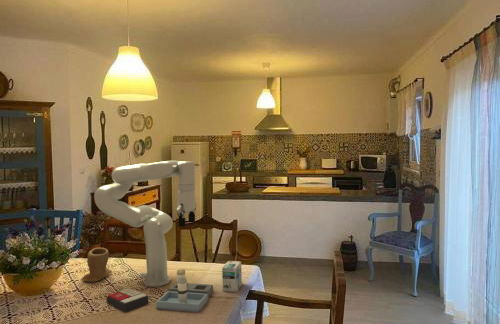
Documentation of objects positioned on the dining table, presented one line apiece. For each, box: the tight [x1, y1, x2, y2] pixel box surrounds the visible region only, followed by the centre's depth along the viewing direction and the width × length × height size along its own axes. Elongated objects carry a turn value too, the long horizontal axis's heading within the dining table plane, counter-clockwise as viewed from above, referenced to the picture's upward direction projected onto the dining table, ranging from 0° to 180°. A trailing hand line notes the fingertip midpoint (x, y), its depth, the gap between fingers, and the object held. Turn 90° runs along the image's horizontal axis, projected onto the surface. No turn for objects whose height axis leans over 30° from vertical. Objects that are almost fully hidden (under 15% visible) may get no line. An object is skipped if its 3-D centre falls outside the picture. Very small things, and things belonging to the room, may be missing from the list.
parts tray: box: [155, 290, 209, 313], centre depth 161 cm, size 18×11×3 cm, turn 77°
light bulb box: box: [221, 260, 243, 293], centre depth 179 cm, size 11×7×11 cm, turn 168°
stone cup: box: [81, 247, 113, 282], centre depth 195 cm, size 15×12×15 cm
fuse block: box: [167, 281, 214, 298], centre depth 173 cm, size 18×8×3 cm, turn 77°
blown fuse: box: [176, 277, 188, 303], centre depth 161 cm, size 4×4×10 cm
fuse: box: [176, 268, 186, 288], centre depth 174 cm, size 4×4×10 cm
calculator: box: [106, 288, 149, 313], centre depth 165 cm, size 11×4×15 cm
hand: (186, 224), depth 183 cm, fingers open, 9 cm apart
